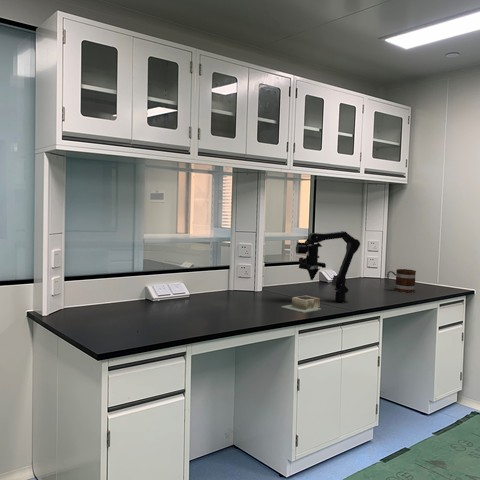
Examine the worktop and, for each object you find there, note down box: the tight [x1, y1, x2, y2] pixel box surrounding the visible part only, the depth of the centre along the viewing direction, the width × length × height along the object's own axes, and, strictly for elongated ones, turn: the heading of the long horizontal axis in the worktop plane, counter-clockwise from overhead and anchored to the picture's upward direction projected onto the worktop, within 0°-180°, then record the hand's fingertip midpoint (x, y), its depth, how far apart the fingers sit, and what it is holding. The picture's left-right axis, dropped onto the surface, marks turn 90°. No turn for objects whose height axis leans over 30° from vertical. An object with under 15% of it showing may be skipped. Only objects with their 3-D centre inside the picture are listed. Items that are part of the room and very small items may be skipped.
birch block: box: [291, 295, 321, 310], centre depth 265 cm, size 5×10×12 cm
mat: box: [281, 304, 322, 314], centre depth 263 cm, size 15×16×1 cm
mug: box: [386, 268, 417, 294], centre depth 333 cm, size 20×14×15 cm
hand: (311, 280), depth 283 cm, fingers closed
